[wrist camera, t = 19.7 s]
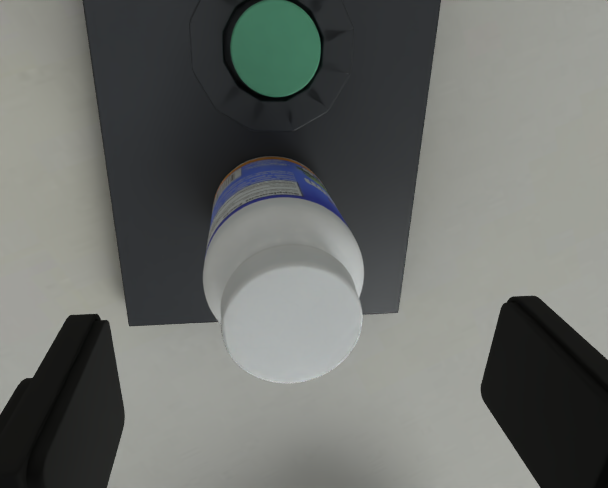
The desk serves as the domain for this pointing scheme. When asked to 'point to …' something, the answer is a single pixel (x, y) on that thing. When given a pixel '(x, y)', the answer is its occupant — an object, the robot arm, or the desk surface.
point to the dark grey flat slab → (254, 134)
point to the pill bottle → (282, 272)
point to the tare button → (275, 48)
